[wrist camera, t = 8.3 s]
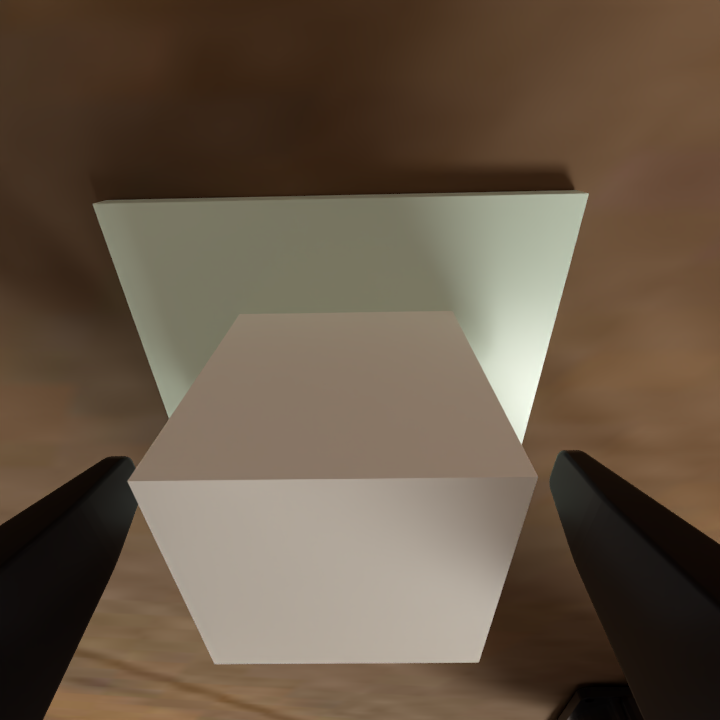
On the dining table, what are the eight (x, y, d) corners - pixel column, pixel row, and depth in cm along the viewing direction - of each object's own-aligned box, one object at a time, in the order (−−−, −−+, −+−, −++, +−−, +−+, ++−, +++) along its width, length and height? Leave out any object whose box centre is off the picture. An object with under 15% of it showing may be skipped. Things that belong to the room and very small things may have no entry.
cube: (434, 464, 11) (478, 662, 7) (269, 465, 11) (214, 663, 7) (452, 310, 9) (537, 476, 5) (239, 314, 9) (127, 480, 5)
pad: (497, 504, 13) (502, 517, 13) (210, 507, 13) (205, 520, 13) (577, 189, 8) (588, 193, 8) (106, 200, 8) (92, 204, 8)
